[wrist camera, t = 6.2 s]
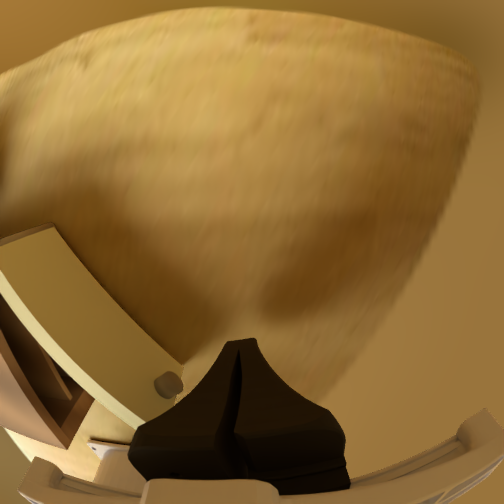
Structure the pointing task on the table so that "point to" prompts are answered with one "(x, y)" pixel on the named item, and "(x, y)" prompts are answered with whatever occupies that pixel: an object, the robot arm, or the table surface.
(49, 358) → the cabinet
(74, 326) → the door
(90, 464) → the table surface
